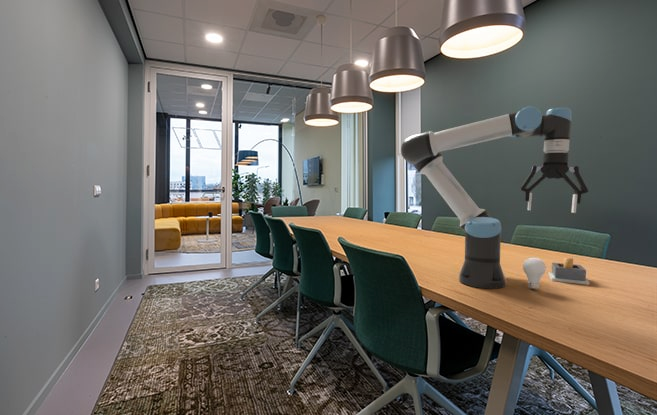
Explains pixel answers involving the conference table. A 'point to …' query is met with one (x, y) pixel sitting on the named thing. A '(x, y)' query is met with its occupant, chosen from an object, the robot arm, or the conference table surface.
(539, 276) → the light bulb
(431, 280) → the conference table surface
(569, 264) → the keeper
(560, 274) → the grey square frame
